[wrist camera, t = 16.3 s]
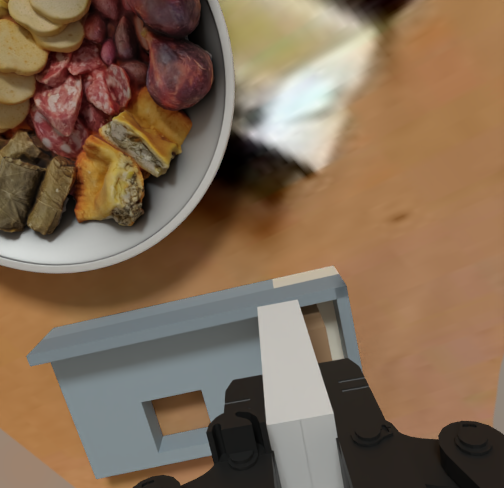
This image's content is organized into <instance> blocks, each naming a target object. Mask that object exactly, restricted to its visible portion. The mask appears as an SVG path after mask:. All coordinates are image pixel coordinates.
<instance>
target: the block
mask: <svg viewBox="0 0 504 488" xmlns="http://www.w3.org/2000/svg"><path fill="white" fill-rule="evenodd" d="M300 308H301V312H302V315H303V318H304V321H305V324H306V328H307V331H308V334H309V337H310V340H311V343H312V347H313V350H314V353H315V356H316V359H317V362H318V363H322V362H328V361H332V356H331V351H330V346H329V341H328V336H327V331H326V327H325V324H324V322H323V319H322V317H321V314H320V312H319V309H318V307H317V304H312V305H307V306H303V307H300Z"/></svg>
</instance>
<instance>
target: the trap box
mask: <svg viewBox="0 0 504 488" xmlns="http://www.w3.org/2000/svg"><path fill="white" fill-rule="evenodd" d="M293 300H298V302H299V305H300V307H303V306H307V305H312V304H317V307H318V309H319V312H320V314H321V317H322V319H323V322H324V324H325V327H326V331H327V336H328V341H329V346H330V351H331V356H332V361H333V360H339V359H345V358H349V359H350V360H352V361H353V362H354V363H356V364H357V365H359V367H360V369H361V371H362V367H361V361H360V356H359V351H358V345H357V340H356V334H355V329H354V324H353V318H352V313H351V308H350V302H349V297H348V292H347V286H346V284H345V283H344V281H343V280H342V278H341V276H340V275H339V273H338V272H337V270H336V269H335V267H334V266H329V267H325V268H320V269H316V270H311V271H307V272H302V273H298V274H293V275H289V276H284V277H280V278H275V279H271V280H266V281H262V282H257V283H253V284H249V285H244V286H240V287H235V288H231V289H226V290H222V291H217V292H213V293H208V294H204V295H199V296H195V297H190V298H186V299H181V300H177V301H172V302H168V303H163V304H159V305H154V306H150V307H145V308H141V309H137V310H132V311H128V312H123V313H119V314H114V315H110V316H105V317H101V318H96V319H92V320H87V321H83V322H78V323H74V324H69V325H65V326H60V327H56V328H53V329H52V330H51V331H50V332H49V333H48V334H47V335H46V336H45V337H44V338H43V339H42V340H41V341H40V342H39V343H38V345H37V346H36V347H35V348H34V349H33V350H32V351H31V352H30V353H29V354H28V355H27V356H26V357H27V359H28V362H29V364H30V366H34V365H39V364H44V363H48V362H51V365H52V367H53V370H54V372H55V375H56V377H57V380H58V383H59V385H60V388H61V390H62V393H63V395H64V398H65V400H66V403H67V406H68V408H69V411H70V413H71V416H72V418H73V421H74V423H75V426H76V429H77V431H78V434H79V436H80V439H81V441H82V444H83V446H84V449H85V452H86V454H87V457H88V459H89V462H90V464H91V467H92V469H93V472H94V475H95V477H96V479H99V478H104V477H109V476H114V475H119V474H124V473H128V472H133V471H138V470H143V469H148V468H153V467H157V466H162V465H167V464H172V463H177V462H182V461H186V460H191V459H196V458H201V457H206V456H211V455H212V454H211V450H210V446H209V442H208V438H207V434H206V431H207V429H208V427H205V428H200V429H196V430H191V431H186V432H181V433H176V434H172V435H167V436H163V435H162V432H161V429H160V426H159V423H158V420H157V417H156V414H155V411H154V408H153V405H152V402H151V400H155V399H160V398H164V397H169V396H174V395H178V394H183V393H188V392H192V391H197V390H201V391H202V394H203V397H204V401H205V404H206V407H207V411H208V414H209V418H210V421H211V422H212V421H213V420H214V419H215V418H216V417H217V416H219V415H221V414H222V413H224V405H225V391H226V389H227V388H228V386H229V385H230V383H231V382H232V380H235V379H240V378H246V377H251V376H257V375H262V362H261V349H260V336H259V323H258V310H257V307H260V306H266V305H271V304H276V303H282V302H287V301H293ZM362 373H363V372H362Z"/></svg>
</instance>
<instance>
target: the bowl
mask: <svg viewBox="0 0 504 488" xmlns="http://www.w3.org/2000/svg"><path fill="white" fill-rule="evenodd" d="M234 103H235V73H234V62H233V55H232V49H231V43H230V38H229V34H228V30H227V26H226V23H225V19H224V16H223V13H222V10H221V7H220V5H219V2H218V0H0V265H2V266H6V267H10V268H14V269H19V270H24V271H30V272H38V273H76V272H84V271H90V270H96V269H100V268H104V267H108V266H111V265H114V264H117V263H120V262H122V261H125V260H127V259H130V258H132V257H134V256H136V255H138V254H140V253H142V252H144V251H146V250H147V249H149V248H151V247H152V246H154V245H155V244H157V243H158V242H160V241H161V240H162V239H164V238H165V237H166V236H168V235H169V234H170V233H171V232H172V231H173V230H175V229H176V228H177V227H178V226H179V225H180V224H181V223H182V222H183V221H184V220H185V219H186V218H187V217H188V215H189V214H190V213H191V212H192V211H193V210H194V208H195V207H196V206H197V204H198V203H199V202H200V200H201V199H202V197H203V196H204V194H205V193H206V191H207V190H208V188H209V186H210V184H211V183H212V181H213V179H214V177H215V175H216V173H217V171H218V169H219V166H220V164H221V161H222V159H223V156H224V153H225V150H226V147H227V143H228V140H229V136H230V131H231V126H232V121H233V113H234Z"/></svg>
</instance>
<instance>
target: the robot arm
mask: <svg viewBox="0 0 504 488" xmlns="http://www.w3.org/2000/svg"><path fill="white" fill-rule="evenodd" d="M257 310H258V323H259V336H260V349H261V362H262V375H257V376H251V377H246V378H240V379H235V380H232V382H231V383H230V385H229V386H228V388H227V389H226V391H225V405H224V413H222V414H221V415H219V416H217V417H216V418H215V419H214V420H213V421H212V422H211V423H210V424H209V426H208V429H207V431H206V434H207V438H208V442H209V446H210V450H211V454H212V458H213V462H214V466H213V467H212V468H211V469H210V470H209V471H208V472H206V473H205V474H204V475H202V476H200V477H199V478H197V479H195V480H193V481H190V482H188V483H186V484H184V485H181V486H180V483H179V482H178V481H177V480H176V479H175V478H174V477H171V476H166V475H160V476H153V477H150V478H148V479H146V480H143V481H141V482H140V483H138V484H137V485H136V486H134V487H133V488H504V435H503V434H502V433H501V432H499V431H497V430H496V429H494V428H492V427H491V426H489V425H486V424H482V423H479V422H474V421H460V422H455V423H451V424H449V425H447V426H446V427H444V428H443V429H442V430H441V432H440V434H439V435H438V437H439V440H437V439H422V438H415V437H410V436H407V435H404V434H401V433H400V432H398V430H397V429H396V428H395V427H394V426H393V424H392V423H390V422H388V421H386V420H385V418H384V416H383V414H382V412H381V410H380V408H379V406H378V404H377V402H376V400H375V397H374V395H373V393H372V391H371V389H370V387H369V385H368V383H367V381H366V379H365V378H364V375H363V373H362V371H361V369H360V367H359V365H357V364H356V363H354V362H353V361H352V360H350V359H349V358H345V359H339V360H333V361H328V362H322V363H318V362H317V359H316V356H315V353H314V350H313V347H312V343H311V340H310V337H309V334H308V331H307V328H306V324H305V321H304V318H303V315H302V312H301V308H300V305H299V302H298V300H293V301H287V302H282V303H276V304H271V305H266V306H260V307H257Z"/></svg>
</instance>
